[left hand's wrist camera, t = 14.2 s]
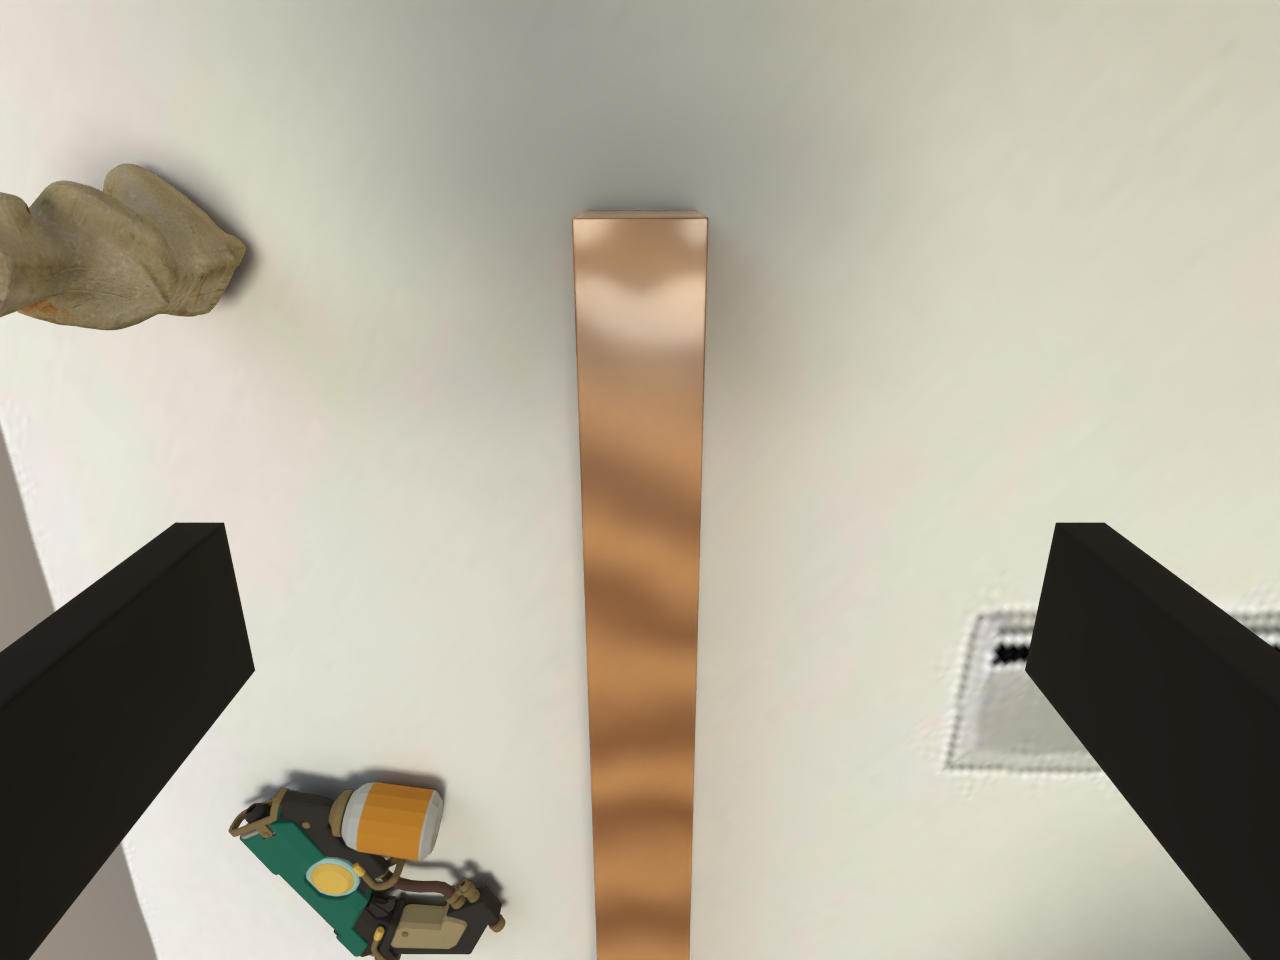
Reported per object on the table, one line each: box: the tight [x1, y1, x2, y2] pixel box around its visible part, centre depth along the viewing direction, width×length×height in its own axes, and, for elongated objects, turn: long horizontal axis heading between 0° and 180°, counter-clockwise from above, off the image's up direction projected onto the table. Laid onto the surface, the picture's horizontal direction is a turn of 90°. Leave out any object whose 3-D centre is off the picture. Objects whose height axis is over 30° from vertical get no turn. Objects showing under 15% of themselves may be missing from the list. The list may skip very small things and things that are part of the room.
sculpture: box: [0, 164, 246, 330], centre depth 32 cm, size 6×7×15 cm
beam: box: [572, 211, 708, 960], centre depth 50 cm, size 78×6×8 cm, turn 0°
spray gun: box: [229, 782, 505, 960], centre depth 53 cm, size 4×17×15 cm
